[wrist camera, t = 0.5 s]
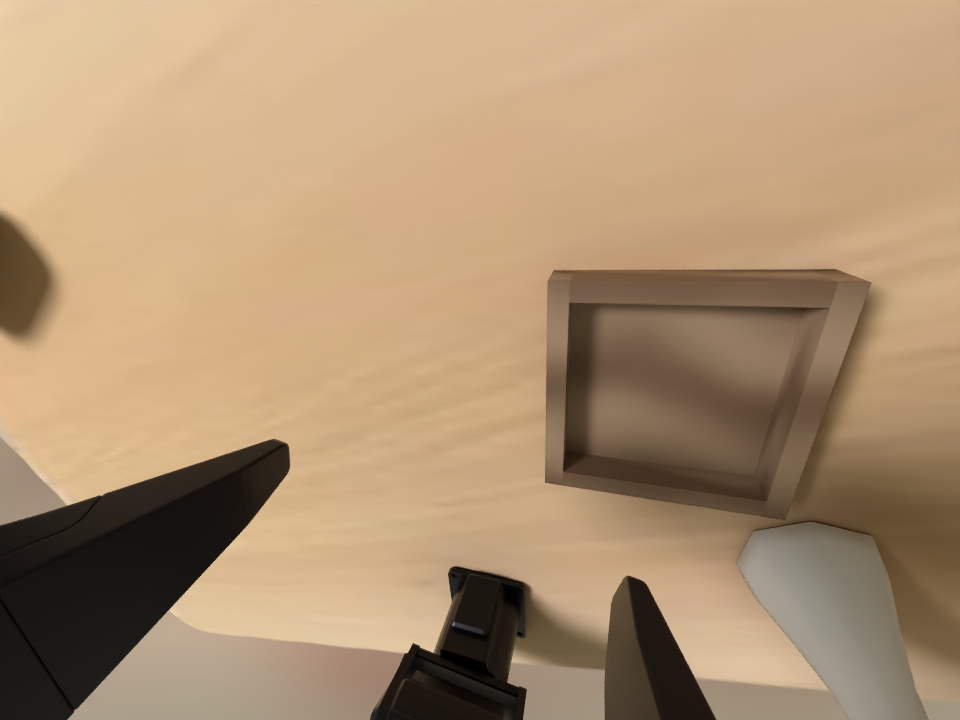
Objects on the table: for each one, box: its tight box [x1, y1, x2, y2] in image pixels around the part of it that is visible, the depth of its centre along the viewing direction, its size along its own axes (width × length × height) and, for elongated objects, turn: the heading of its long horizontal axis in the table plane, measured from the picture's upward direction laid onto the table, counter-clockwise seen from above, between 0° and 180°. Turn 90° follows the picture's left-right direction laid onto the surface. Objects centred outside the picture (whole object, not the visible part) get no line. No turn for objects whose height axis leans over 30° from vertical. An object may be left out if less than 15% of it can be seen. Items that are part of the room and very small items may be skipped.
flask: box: [736, 522, 929, 720], centre depth 18 cm, size 7×7×10 cm
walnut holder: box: [545, 269, 871, 520], centre depth 19 cm, size 12×12×2 cm
